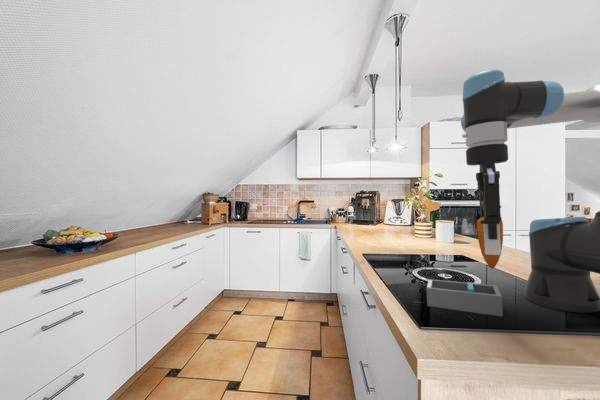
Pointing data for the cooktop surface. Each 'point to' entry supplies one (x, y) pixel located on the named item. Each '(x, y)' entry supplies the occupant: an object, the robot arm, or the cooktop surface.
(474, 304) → the grey open box
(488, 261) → the carrot
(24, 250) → the cooktop surface
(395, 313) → the cooktop surface
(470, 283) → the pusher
